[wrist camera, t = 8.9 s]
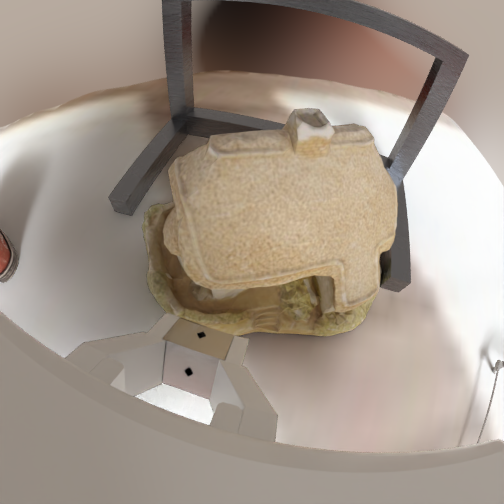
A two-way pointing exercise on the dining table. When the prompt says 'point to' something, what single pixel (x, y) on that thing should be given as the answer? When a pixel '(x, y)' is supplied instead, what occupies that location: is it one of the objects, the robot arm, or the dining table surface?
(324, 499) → the robot arm
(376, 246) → the ceramic model
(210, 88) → the dining table surface
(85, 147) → the dining table surface
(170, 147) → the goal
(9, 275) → the lighter
